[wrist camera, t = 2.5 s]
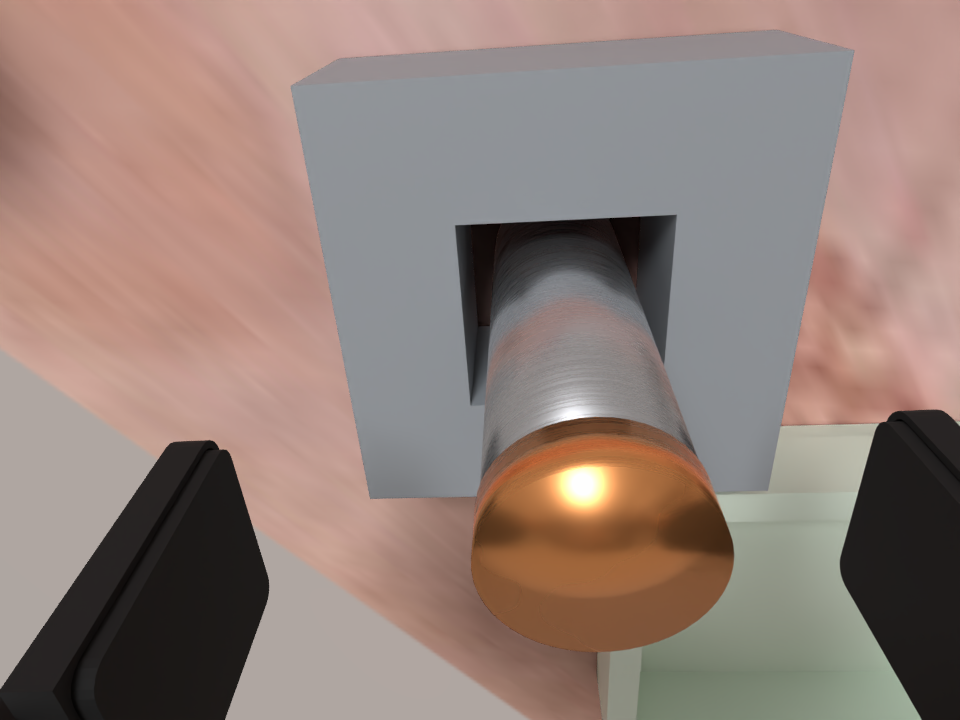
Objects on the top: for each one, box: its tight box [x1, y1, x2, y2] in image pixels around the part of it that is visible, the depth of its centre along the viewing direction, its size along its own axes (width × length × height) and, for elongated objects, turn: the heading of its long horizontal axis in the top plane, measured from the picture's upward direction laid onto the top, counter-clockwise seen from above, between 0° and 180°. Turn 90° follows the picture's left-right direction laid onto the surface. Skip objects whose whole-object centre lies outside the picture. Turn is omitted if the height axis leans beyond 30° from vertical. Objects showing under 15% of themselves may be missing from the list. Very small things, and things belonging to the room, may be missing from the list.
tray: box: [597, 421, 960, 720], centre depth 22 cm, size 15×12×3 cm
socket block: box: [291, 30, 854, 499], centre depth 16 cm, size 10×10×4 cm
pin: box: [471, 218, 734, 652], centre depth 13 cm, size 3×3×11 cm
